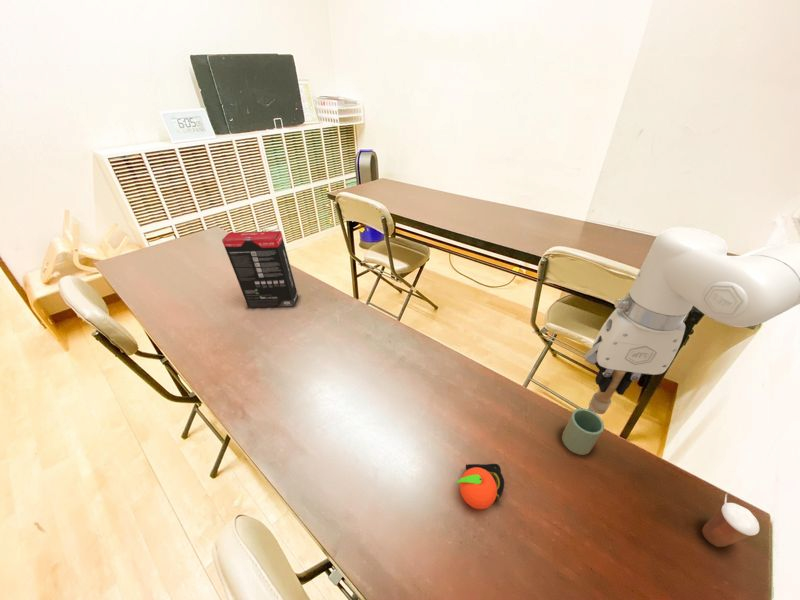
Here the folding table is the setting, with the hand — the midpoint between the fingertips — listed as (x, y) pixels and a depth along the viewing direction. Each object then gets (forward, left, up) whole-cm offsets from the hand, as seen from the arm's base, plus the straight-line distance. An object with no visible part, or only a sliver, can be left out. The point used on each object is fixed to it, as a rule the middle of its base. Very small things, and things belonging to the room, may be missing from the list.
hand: (609, 386), depth 59 cm
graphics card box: (+88, +50, -20) cm, 103 cm away
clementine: (+2, +27, -20) cm, 33 cm away
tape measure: (+3, +24, -20) cm, 31 cm away
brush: (0, 0, -7) cm, 7 cm away
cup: (0, 0, -20) cm, 20 cm away
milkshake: (-23, -6, -20) cm, 31 cm away
